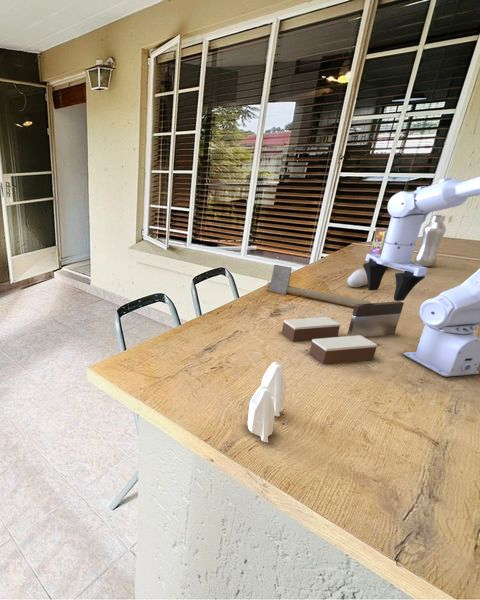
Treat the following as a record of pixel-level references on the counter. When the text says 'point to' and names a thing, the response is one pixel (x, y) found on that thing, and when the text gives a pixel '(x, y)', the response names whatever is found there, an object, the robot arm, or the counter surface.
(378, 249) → the candy box
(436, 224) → the silver bottle
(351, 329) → the wide flat blade
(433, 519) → the counter surface
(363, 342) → the cake near half
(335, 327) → the cake far half
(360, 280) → the white rounded oblong piece
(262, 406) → the shaker set
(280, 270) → the long-handled mallet
